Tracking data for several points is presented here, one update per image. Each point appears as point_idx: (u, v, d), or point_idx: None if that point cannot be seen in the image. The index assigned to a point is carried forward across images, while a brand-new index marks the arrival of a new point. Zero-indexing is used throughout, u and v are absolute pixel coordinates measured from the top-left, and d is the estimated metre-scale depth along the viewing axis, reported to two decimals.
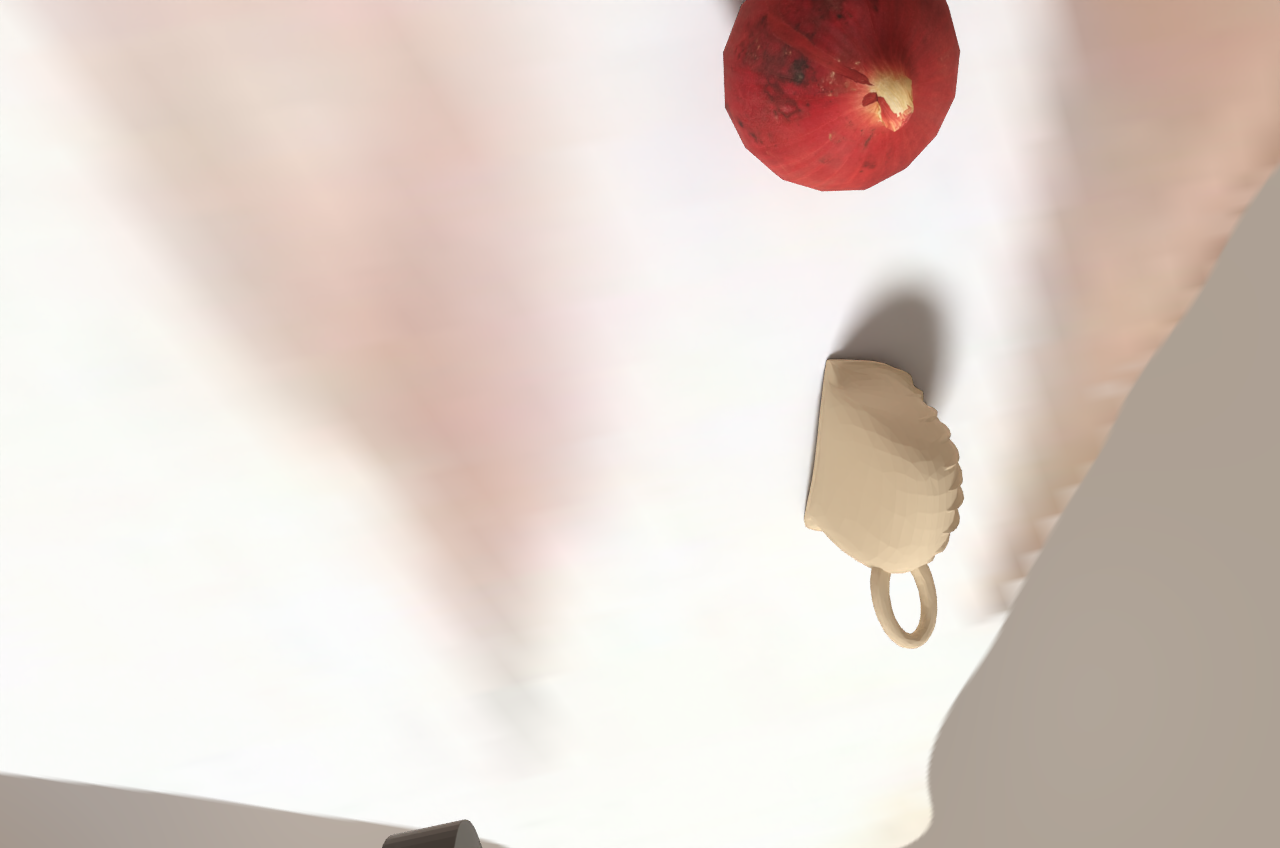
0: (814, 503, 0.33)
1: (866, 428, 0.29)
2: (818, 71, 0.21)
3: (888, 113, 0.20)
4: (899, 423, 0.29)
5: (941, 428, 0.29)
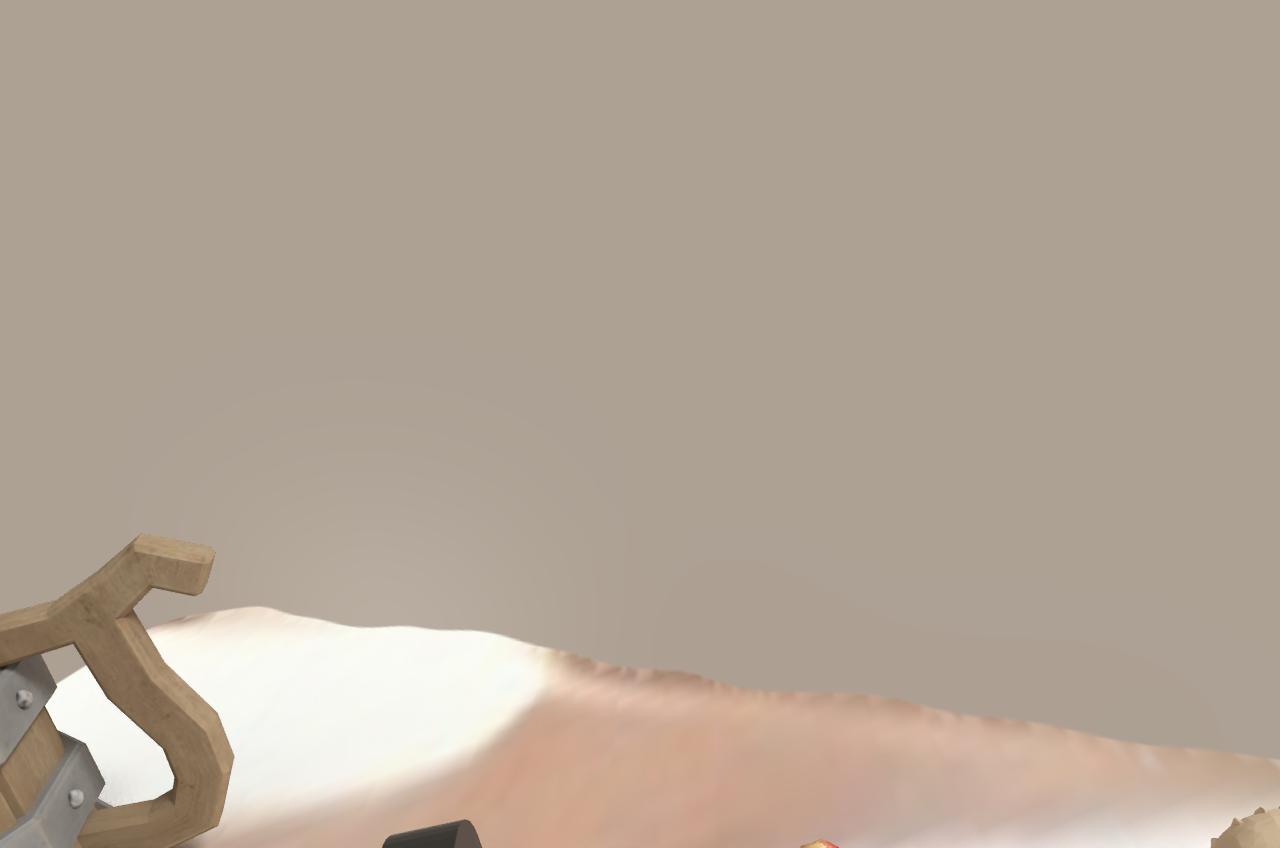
0: None
1: None
2: None
3: None
4: None
5: None
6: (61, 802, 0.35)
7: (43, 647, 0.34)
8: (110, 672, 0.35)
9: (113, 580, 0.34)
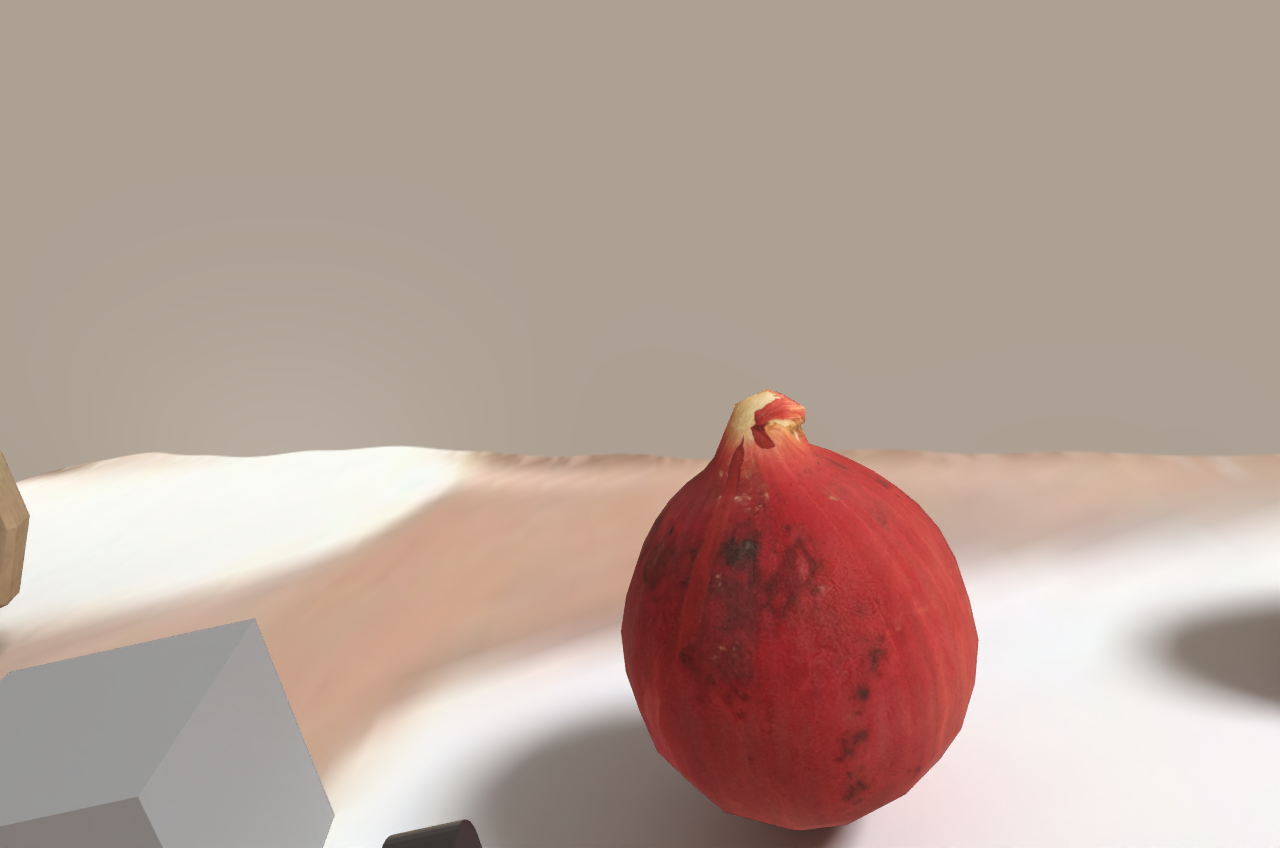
0: None
1: None
2: (736, 521, 0.14)
3: (776, 407, 0.14)
4: None
5: None
6: None
7: None
8: None
9: None
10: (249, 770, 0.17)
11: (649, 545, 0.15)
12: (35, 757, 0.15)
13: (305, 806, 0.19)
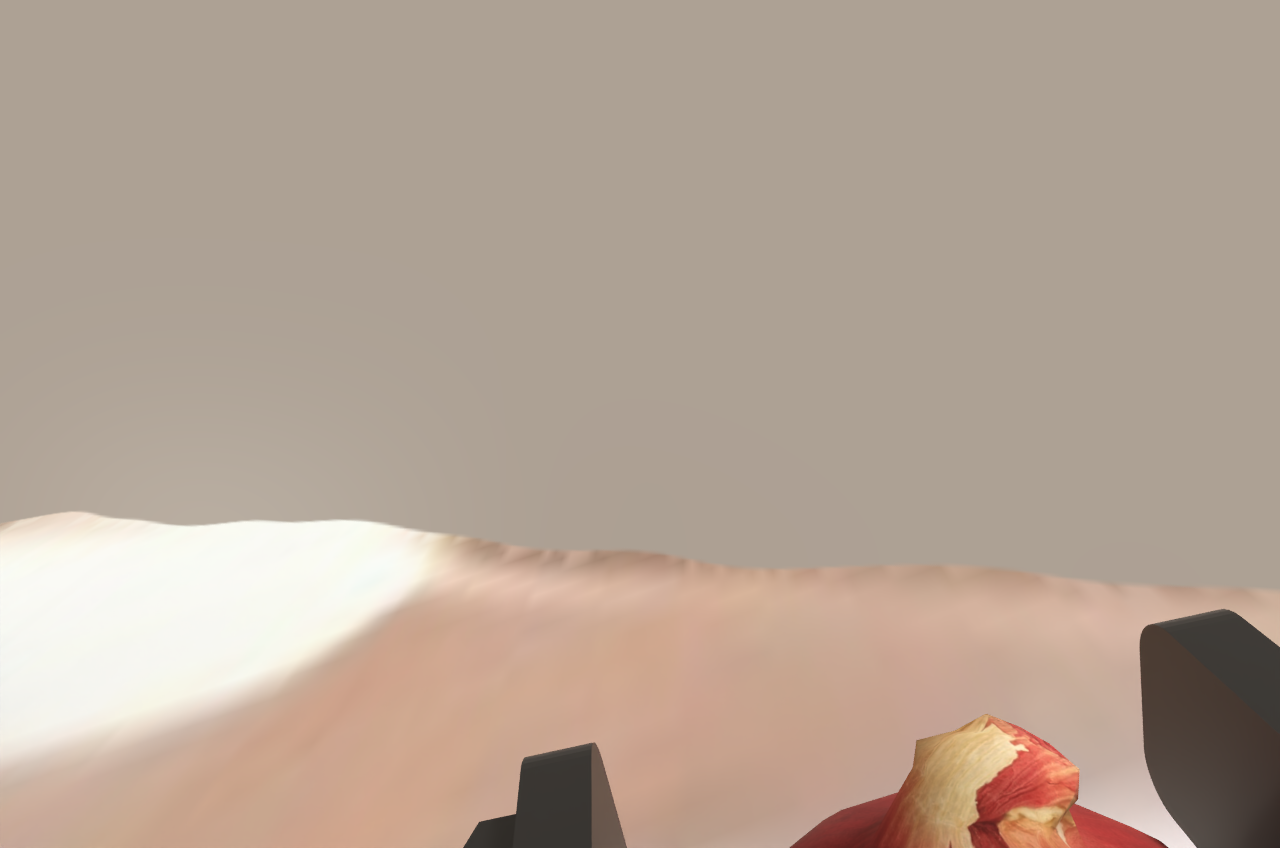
0: None
1: None
2: None
3: (1024, 776, 0.06)
4: None
5: None
6: None
7: None
8: None
9: None
10: None
11: None
12: None
13: None
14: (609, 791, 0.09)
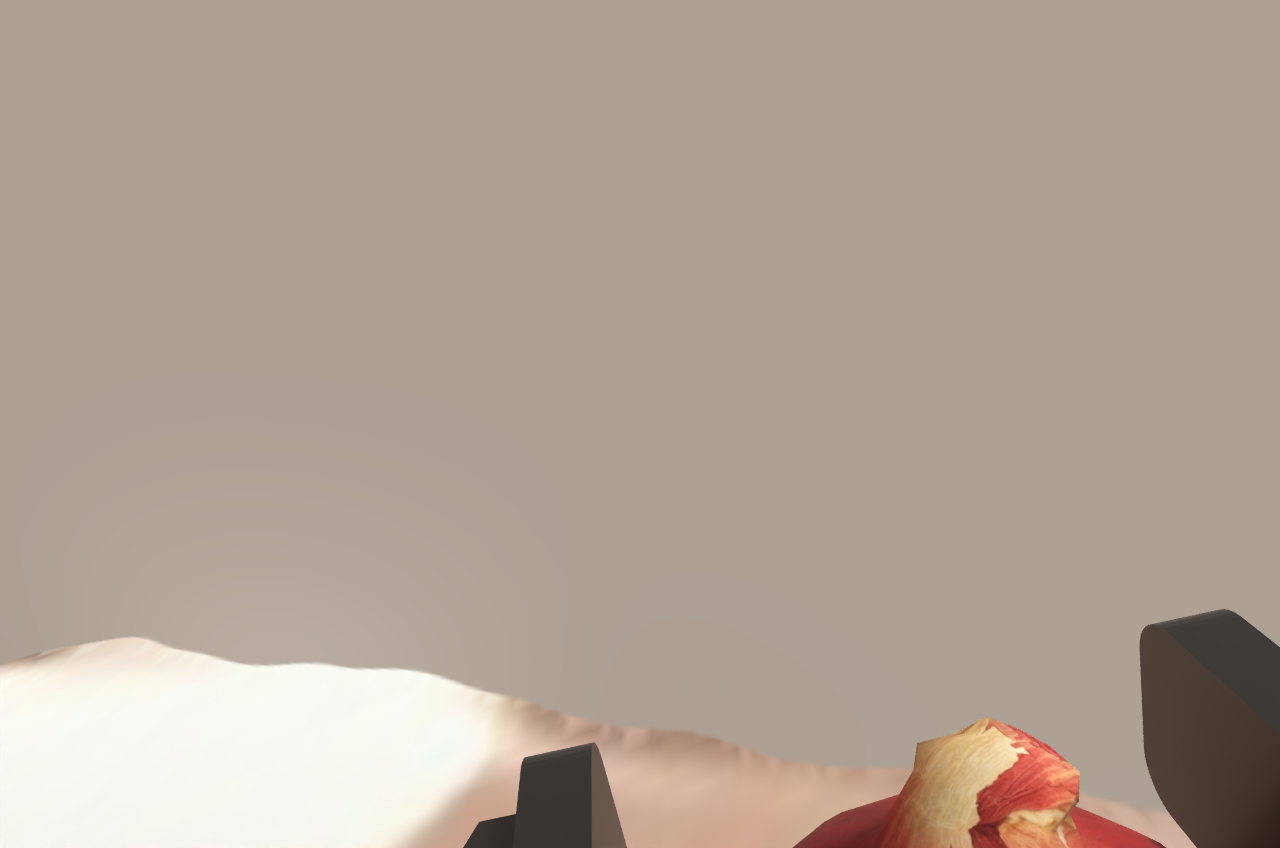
0: None
1: None
2: None
3: (1024, 779, 0.06)
4: None
5: None
6: None
7: None
8: None
9: None
10: None
11: None
12: None
13: None
14: (609, 791, 0.09)
